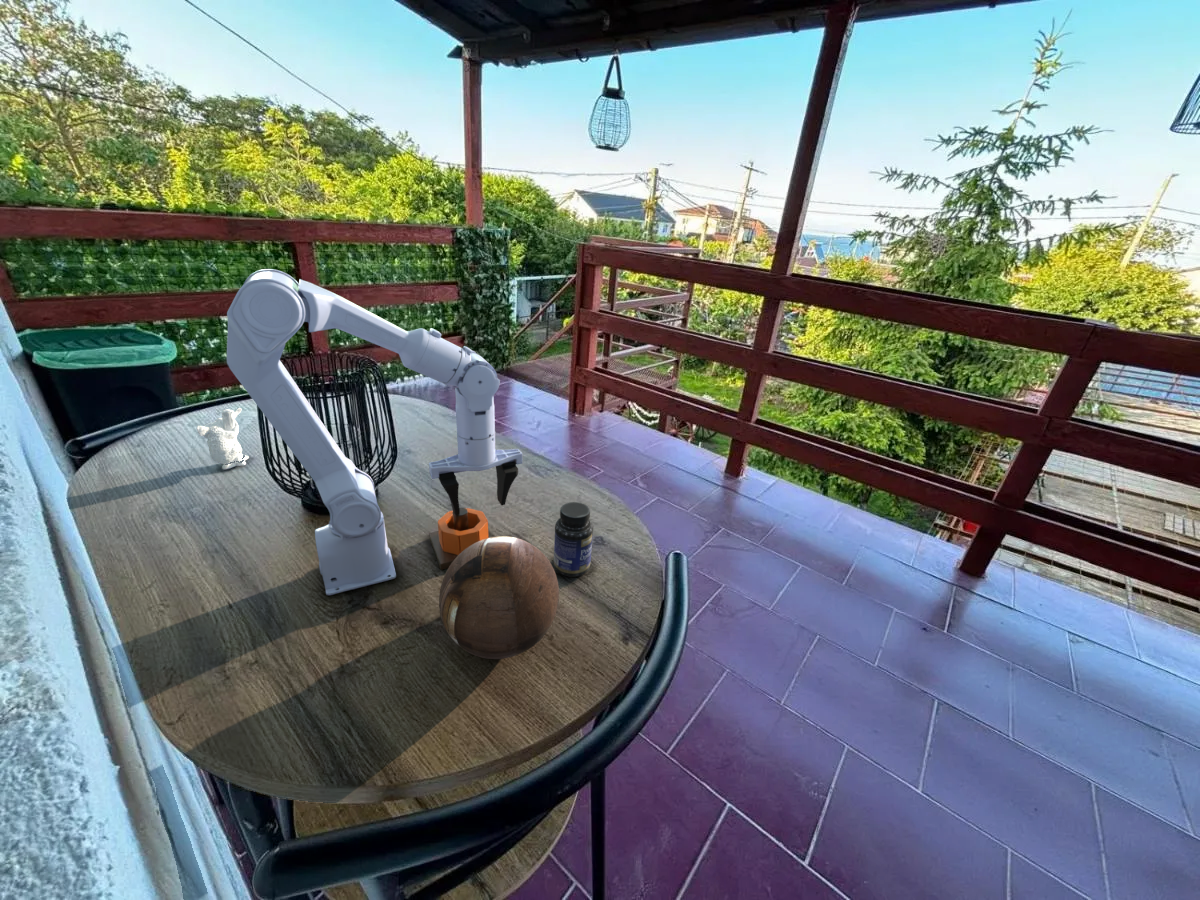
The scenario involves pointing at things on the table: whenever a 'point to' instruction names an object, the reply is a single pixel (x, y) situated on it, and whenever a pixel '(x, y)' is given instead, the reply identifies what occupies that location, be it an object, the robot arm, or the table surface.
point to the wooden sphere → (499, 597)
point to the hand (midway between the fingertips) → (479, 506)
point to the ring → (463, 539)
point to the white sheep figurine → (224, 439)
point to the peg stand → (443, 557)
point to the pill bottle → (573, 540)
